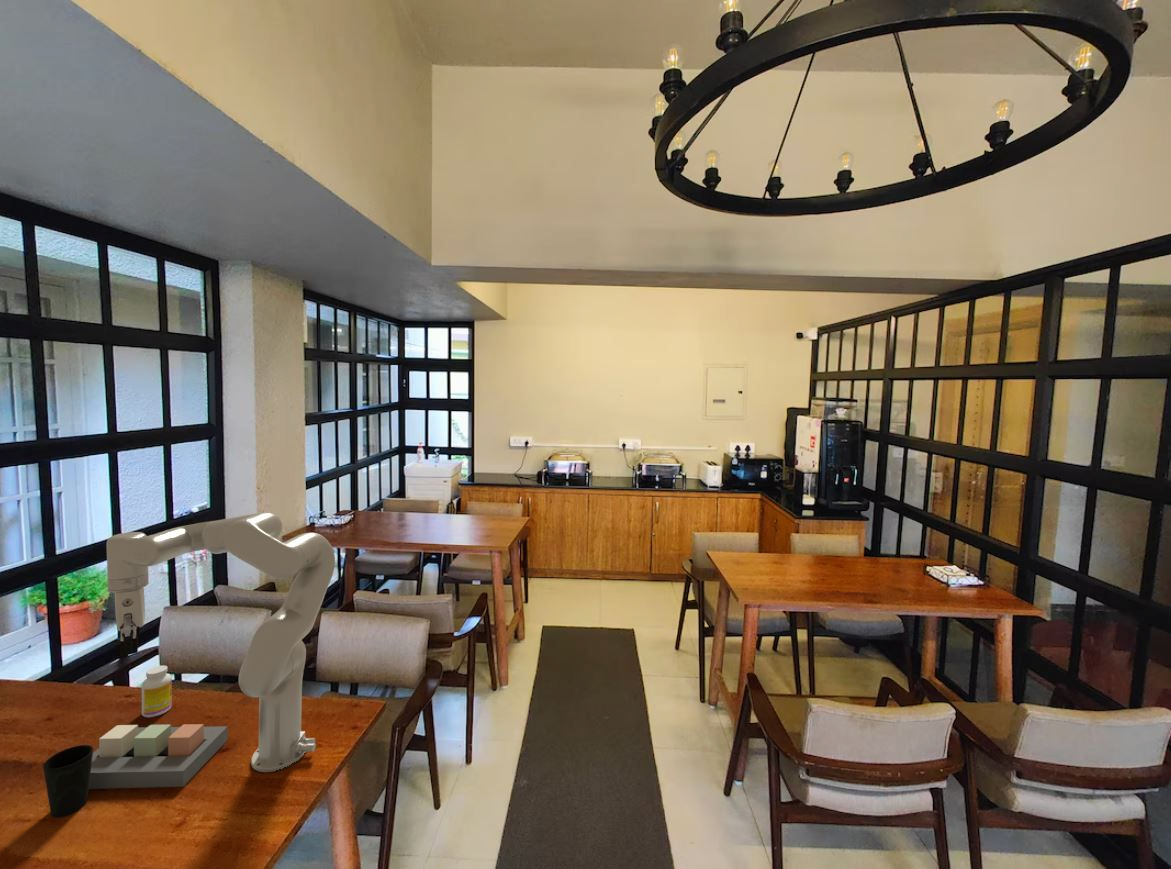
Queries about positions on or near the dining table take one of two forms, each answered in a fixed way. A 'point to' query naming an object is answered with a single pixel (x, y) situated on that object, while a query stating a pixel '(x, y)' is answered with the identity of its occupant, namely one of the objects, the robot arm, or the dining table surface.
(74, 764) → the cup
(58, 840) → the dining table surface
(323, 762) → the dining table surface
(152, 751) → the green button
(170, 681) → the supplement bottle
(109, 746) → the cream button
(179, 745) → the terracotta button
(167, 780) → the console
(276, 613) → the robot arm
